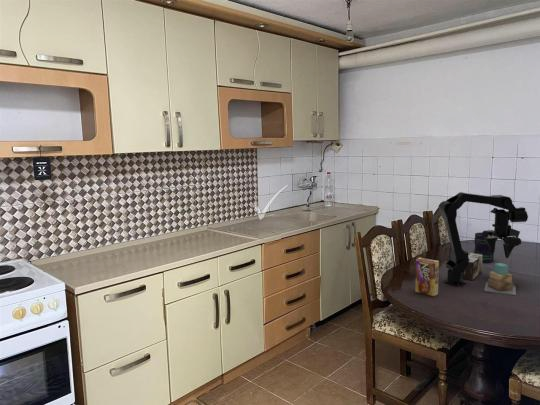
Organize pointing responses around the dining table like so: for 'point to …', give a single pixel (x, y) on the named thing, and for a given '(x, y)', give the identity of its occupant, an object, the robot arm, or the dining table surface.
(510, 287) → the walnut base block
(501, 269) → the teal block
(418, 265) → the candy box
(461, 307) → the dining table surface
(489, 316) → the dining table surface
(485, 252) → the storage jar
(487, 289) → the grey square tile
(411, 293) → the dining table surface
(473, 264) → the coffee box
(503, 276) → the oak top block
